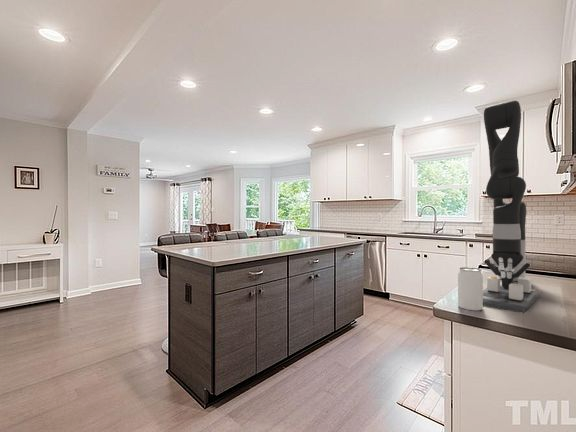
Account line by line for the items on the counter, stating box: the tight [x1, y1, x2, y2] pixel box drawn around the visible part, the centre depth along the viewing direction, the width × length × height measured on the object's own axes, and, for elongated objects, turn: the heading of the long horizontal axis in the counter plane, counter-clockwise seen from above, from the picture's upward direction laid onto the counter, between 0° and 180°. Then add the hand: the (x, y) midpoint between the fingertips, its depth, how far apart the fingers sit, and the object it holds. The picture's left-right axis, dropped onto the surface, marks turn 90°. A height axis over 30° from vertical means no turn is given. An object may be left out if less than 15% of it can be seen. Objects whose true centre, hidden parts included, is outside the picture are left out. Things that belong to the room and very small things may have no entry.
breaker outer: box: [509, 282, 523, 300], centre depth 90 cm, size 3×3×4 cm
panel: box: [483, 284, 540, 314], centre depth 97 cm, size 24×13×2 cm, turn 131°
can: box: [457, 266, 484, 312], centre depth 89 cm, size 6×6×12 cm
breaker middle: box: [486, 275, 501, 292], centre depth 100 cm, size 3×3×4 cm
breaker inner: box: [517, 277, 532, 293], centre depth 98 cm, size 3×3×4 cm
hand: (507, 288), depth 97 cm, fingers closed
